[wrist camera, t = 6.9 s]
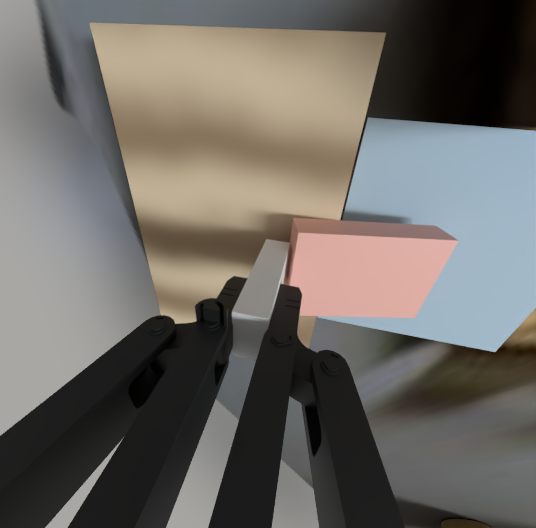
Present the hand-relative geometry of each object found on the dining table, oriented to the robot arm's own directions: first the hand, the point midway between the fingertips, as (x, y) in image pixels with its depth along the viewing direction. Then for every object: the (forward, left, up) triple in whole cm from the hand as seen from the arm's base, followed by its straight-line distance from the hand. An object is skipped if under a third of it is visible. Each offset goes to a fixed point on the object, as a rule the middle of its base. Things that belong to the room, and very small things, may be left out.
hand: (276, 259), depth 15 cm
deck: (0, -3, -4) cm, 5 cm away
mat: (0, +12, -4) cm, 12 cm away
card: (0, +5, -2) cm, 5 cm away
